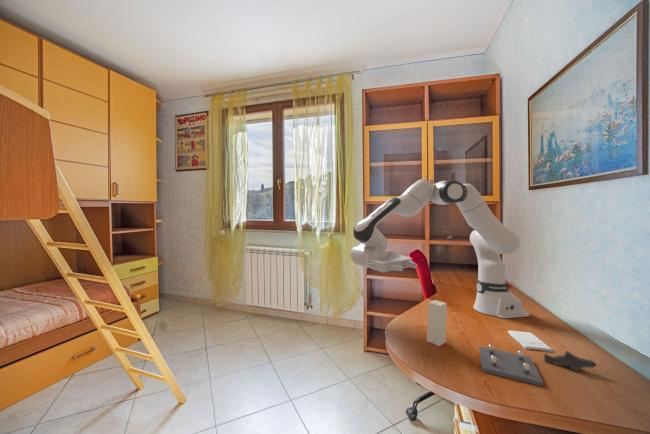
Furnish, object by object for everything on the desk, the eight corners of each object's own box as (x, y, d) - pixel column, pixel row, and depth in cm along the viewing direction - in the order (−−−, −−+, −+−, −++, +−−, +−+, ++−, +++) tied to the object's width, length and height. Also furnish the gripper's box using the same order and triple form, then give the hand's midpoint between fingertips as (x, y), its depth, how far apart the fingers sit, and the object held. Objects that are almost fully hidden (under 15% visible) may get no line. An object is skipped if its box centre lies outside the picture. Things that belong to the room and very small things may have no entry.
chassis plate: (479, 349, 90) (479, 338, 90) (530, 360, 84) (531, 349, 84) (482, 371, 78) (482, 358, 78) (542, 386, 71) (543, 372, 71)
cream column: (433, 337, 98) (434, 299, 98) (445, 342, 95) (446, 303, 95) (426, 341, 96) (428, 302, 95) (439, 346, 92) (440, 305, 92)
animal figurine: (545, 368, 82) (542, 351, 82) (544, 362, 86) (541, 346, 86) (600, 375, 75) (596, 357, 76) (595, 368, 79) (592, 350, 79)
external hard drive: (531, 336, 102) (552, 353, 90) (507, 334, 104) (525, 350, 91) (531, 332, 102) (552, 348, 90) (507, 330, 103) (525, 345, 91)
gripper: (364, 255, 108) (393, 262, 97) (395, 251, 121) (423, 256, 110) (364, 271, 108) (392, 279, 97) (394, 265, 121) (422, 272, 110)
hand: (409, 267), depth 104 cm, fingers open, 8 cm apart
